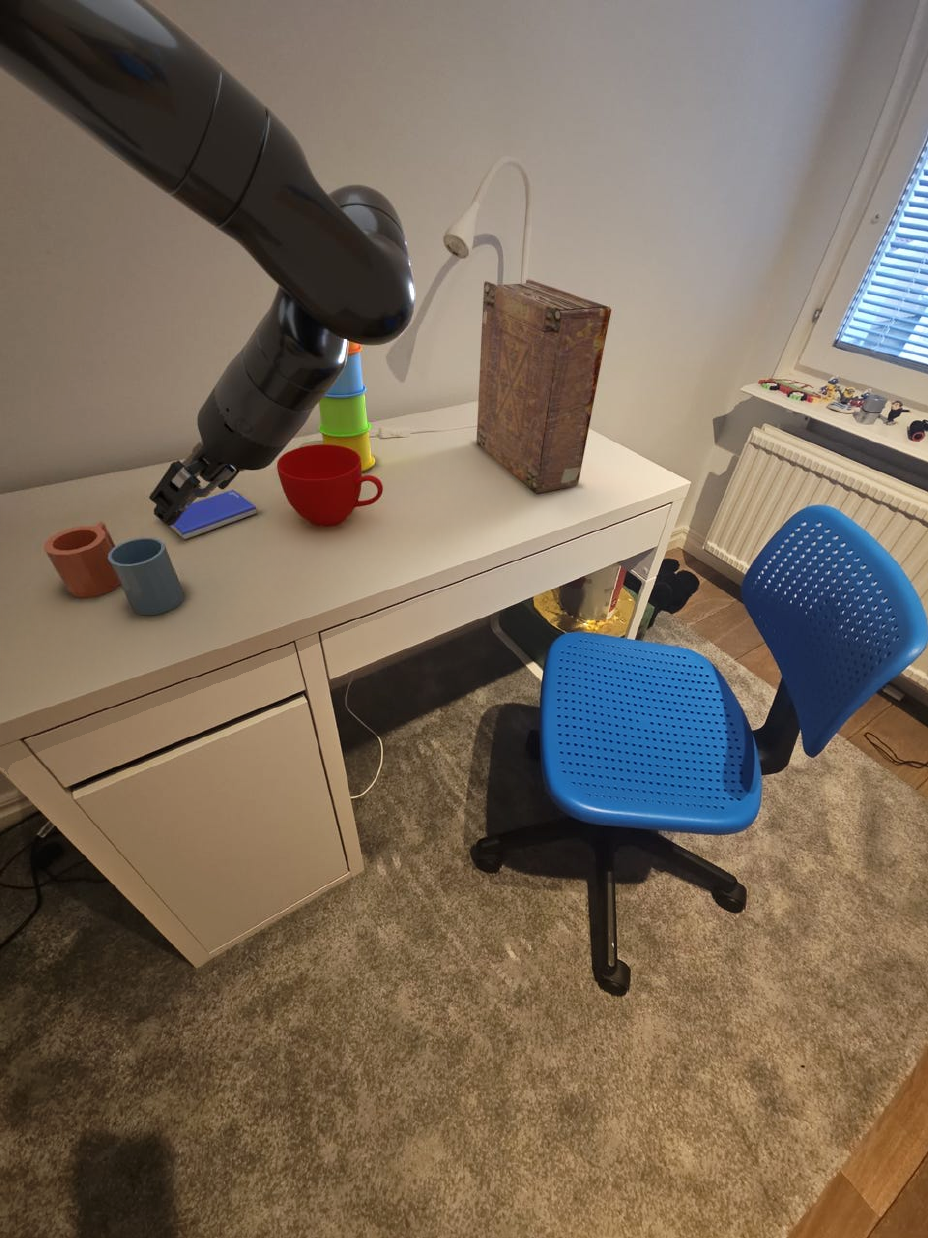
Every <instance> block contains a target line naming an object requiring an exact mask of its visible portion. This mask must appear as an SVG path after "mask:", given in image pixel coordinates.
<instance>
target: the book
mask: <svg viewBox="0 0 928 1238" xmlns="http://www.w3.org/2000/svg"><path fill="white" fill-rule="evenodd" d="M482 297H483V298H482V318H481V337H480V338H481V339H480V360H479V363H480V364H479V380H478V401H477V402H478V403H477V422H476V444H477V445H478V446H479V447H480V448H481V449H483V450H484V451H485V452H486V453H487V454H489V456H491V457H492V458H493V459H495V461H497V462H498V463H499V464H500V465H502V466H503V467H504V468H505V469H506V470H508V471H509V472H510V473H511V474H512V475H514V476H515V477H516V478H517V479H518V480H519V481H521V482H522V483H523V484H524V485H525V486H526V487H527V488H529V489H530V490H531V491H532V492H534V493H535V494H536V495H537V494H541V493H546V492H552V491H556V490H560V489H564V488H571V487H575V486H578V485H579V482H580V476H581V472H582V466H583V462H584V461H583V460H584V457H585V451H586V445H587V440H588V434H589V429H590V424H591V418H592V413H593V409H594V403H595V397H596V393H597V388H598V382H599V378H600V377H599V376H600V372H601V366H602V362H603V357H604V351H605V345H606V341H607V334H608V329H609V325H610V324H609V323H610V319H611V314H612V309H611V306H607V305H605V304H602V303H599V302H596V301H592V300H590V299H587V298H584V297H581V296H578V295H575V294H573V293H570V292H567V291H564V290H561V289H559V288H556V287H552V286H550V285H548V284H547V285H546V284H544V283H541V282H538V281H535V280H533V279H529V278H528V279H525V282H524V283H507V284H496V283H493V282H490V281H487V280H485V281H483V296H482Z"/></svg>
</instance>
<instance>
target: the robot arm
mask: <svg viewBox="0 0 928 1238" xmlns="http://www.w3.org/2000/svg"><path fill="white" fill-rule="evenodd" d="M0 70H1V71H2V72H3V73H4V74H6V75H7V76H8V77H10V78H11V79H13V80H14V81H15V82H17V83H18V84H19V85H21V86H22V87H23V88H24V89H26V90H28V91H29V93H31V94H33V95H34V96H35V97H37V98H38V99H39V100H41V101H42V102H43V103H45V104H46V105H47V106H49V108H51V109H52V110H54V111H55V112H57V113H58V114H60V115H61V116H62V117H63V118H65V119H66V120H68V121H69V122H70V123H71V124H72V125H74V126H75V127H76V128H78V129H79V130H80V131H82V132H83V133H84V134H86V136H88V137H90V138H91V139H92V140H93V141H95V142H96V143H98V144H99V146H102V147H103V149H105V150H107V151H108V152H109V153H111V154H112V155H113V156H114V157H116V158H118V159H119V160H120V161H121V162H123V163H124V164H125V165H127V166H128V167H130V168H131V169H132V170H133V171H135V172H137V174H139V175H141V176H142V177H143V178H145V179H146V180H147V181H149V183H152V184H153V185H154V186H156V187H157V188H158V189H159V190H161V191H162V192H164V193H165V194H167V195H168V196H170V197H171V198H173V199H174V200H175V201H177V202H178V203H180V204H181V205H183V206H184V207H186V208H187V209H188V210H189V211H190V212H193V213H194V215H195V214H196V215H197V216H198V217H200V218H201V219H203V220H204V221H206V223H208V224H209V225H210V226H213V227H214V228H215V229H216V230H218V231H220V232H221V233H223V234H224V235H226V236H227V237H228V238H230V239H232V240H234V242H236V243H237V244H238V245H239V246H241V247H242V248H243V249H244V251H246V252H247V254H249V256H250V257H251V258H252V259H253V260H254V261H255V262H256V263H257V265H258V266H259V267H260V268H261V269H262V270H263V271H264V272H265V274H267V276H268V277H269V278H270V279H271V280H272V281H273V282H274V283H276V284H277V289H276V292H275V296H274V298H273V300H272V303H271V305H270V308H269V309H268V310H267V312H266V313H265V314H264V315H263V317H262V319H261V320H260V321H259V323H258V324H257V326H256V328H254V331H253V332H252V334H251V335H250V337H249V338H248V340H247V341H246V343H245V345H244V346H243V347H242V348H241V350H240V351H239V352H238V353H237V354H236V355H235V356H234V357H233V358H232V360H231V361H230V362H229V363H228V365H227V366H226V367H225V370H224V371H223V373H222V374H221V376H220V377H219V378H218V380H217V382H216V383H215V385H214V387H213V389H212V390H211V392H210V393H209V395H208V396H207V398H206V400H205V401H204V403H202V406H201V407H200V409H199V411H198V414H197V418H196V420H197V421H196V423H197V428H198V433H199V435H200V439H201V440H199V442H197V444H196V445H194V446H193V448H192V450H191V454H190V455H189V456H187V457H186V458H185V460H183V461H182V462H181V461H180V460H176V461H173V462H172V463H170V465H169V467H168V469H167V470H166V472H165V473H164V475H163V476H162V478H161V479H160V480H159V482H158V483H157V484H156V486H155V488H154V489H153V491H152V492H150V495H149V497H148V499H149V500H150V501H151V502H153V503H154V504H155V507H154V508H153V515H154V516H155V517H156V518H157V519H158V520H160V521H161V522H162V523H163V524H164V525H166V526H168V527H170V526H171V525H173V524H174V523H176V521H177V520H178V519H179V517H180V516H181V515H182V513H183V512H184V511H185V510H186V509H187V508H188V506H189V505H190V504H191V503H194V502H195V500H197V499H202V498H207V497H208V496H209V495H210V494H211V493H212V492H213V491H214V490H215V489H216V488H218V489H219V490H225V489H226V488H228V487H229V485H230V484H231V483H232V482H233V481H234V479H235V478H236V476H238V474H239V473H241V472H244V471H260V470H264V469H266V468H267V467H269V466H270V465H271V464H272V463H273V462H274V461H275V460H276V459H277V458H278V456H279V455H280V454H281V452H282V451H283V450H285V448H286V447H287V445H288V444H289V443H290V442H291V441H292V439H294V437H296V435H297V434H298V433H299V431H300V430H301V429H302V428H303V427H304V426H305V424H306V423H307V421H308V419H310V418H309V417H310V416H311V414H312V412H313V411H314V409H315V408H316V406H317V405H319V401H320V400H321V399H322V398H323V397H324V396H325V394H326V393H327V392H328V391H329V390H330V388H331V387H332V386H333V385H334V383H335V382H336V381H337V379H338V378H339V377H340V375H341V374H342V372H343V370H344V368H345V365H346V361H347V353H348V344H349V341H350V342H353V343H356V344H358V345H360V346H381V345H385V344H389V343H391V342H392V341H395V340H396V339H398V338H399V337H401V335H403V334H404V333H405V331H406V330H407V329H408V327H409V325H410V323H411V321H412V318H413V316H414V311H415V308H416V287H415V286H416V285H415V280H414V279H415V278H414V274H413V270H412V265H411V261H410V255H409V250H408V245H407V239H406V234H405V230H404V226H403V223H402V220H401V219H400V216H399V213H398V212H397V210H396V208H395V207H394V205H393V204H392V203H391V202H390V200H389V199H388V198H387V196H385V195H384V194H382V193H381V192H380V191H378V190H377V189H375V188H373V187H371V186H367V185H365V184H347V185H344V186H341V187H338V188H336V189H334V190H332V191H330V192H329V193H327V191H326V190H324V188H323V187H322V186H321V185H320V183H319V181H318V180H317V179H316V176H315V175H314V173H313V171H312V169H311V167H310V164H309V161H308V159H307V156H306V153H305V151H304V148H303V147H302V146H301V144H300V142H299V141H298V139H297V137H296V136H295V135H294V134H293V132H292V131H291V130H290V129H289V128H288V127H287V125H286V124H285V123H284V121H282V120H281V119H280V118H279V117H278V116H277V115H276V114H275V113H274V112H273V111H272V110H271V109H270V108H269V107H268V106H267V105H265V104H264V103H263V102H262V101H261V100H260V99H259V98H258V97H257V96H256V95H255V94H254V93H253V92H252V91H251V90H250V89H249V88H247V87H246V86H245V85H244V84H243V83H242V82H241V81H240V80H239V79H238V78H237V77H236V76H235V75H234V74H232V73H231V72H230V71H229V70H228V68H227V67H225V66H224V65H223V64H222V63H221V62H220V61H219V60H218V59H217V58H215V56H213V55H212V53H210V52H209V51H208V50H207V49H206V48H205V47H204V46H203V45H202V44H201V43H200V42H198V41H197V40H196V39H195V38H194V37H192V35H190V34H189V33H188V32H187V31H186V30H185V29H184V28H183V27H182V26H180V25H179V24H178V23H176V21H174V20H173V19H171V17H170V16H168V15H167V14H165V12H163V11H162V10H161V9H160V8H159V7H157V6H156V5H154V4H153V3H152V2H150V0H0ZM198 477H200V478H201V479H202V480H203V481H205V482H206V483H207V484H206V486H205V487H203V486H202V485H201V482H202V481H201V480H200V479H199V478H198Z"/></svg>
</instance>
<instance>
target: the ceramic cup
mask: <svg viewBox="0 0 928 1238" xmlns="http://www.w3.org/2000/svg"><path fill="white" fill-rule="evenodd" d="M276 470H277V475H278V477H279V482H280V484H281V487H282V490H283V493H284V495H285V497H286V499H287V501H288V503H289V504H290V506H291V508H293V510H294V511H295V512H296V513H297V514H298V515H299V516H300V517H302V518H303V519H304V520H306V521H307V522H308V523H310V525H313V526H316V527H320V528H329V527H335V526H339V525H341V524H343V523H344V522H345V521H346V520H347V519H348V517H349V516H350V515H351V514H352V512H354V510H355V508H361V507H366V506H369V505H372V504H374V503H376V502H377V501H378V500H379V499H380V498H381V496H382V495H383V491H384V486H383V483H382V481H381V480H380V479H379V477H377V476H376V475H371V474H366V475H363V472H362V466H361V458H360V456H359V454H358V453H357V452H355V451H354V450H352V449H350V448H347V447H343V446H339V445H329V444H323V443H322V444H320V443H319V444H309V445H303V446H300V447H296V448H294V449H291V450H289V451H287V452H285V453H284V454H282V455H281V456H280V457H279V458H278V460H277V463H276ZM364 482H371V483H373V484H374V485H375V486H376V490H377V492H376V494H375V495H374V496H373V497H372V498H368V499H364V500H359V499H360V496H361V493H362V484H363V483H364Z"/></svg>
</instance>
